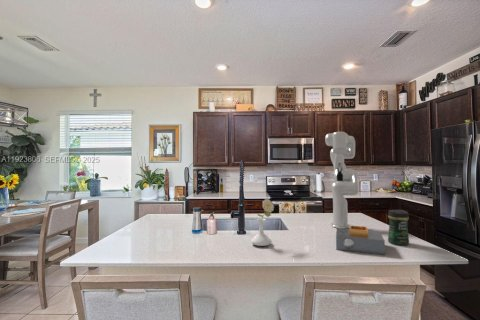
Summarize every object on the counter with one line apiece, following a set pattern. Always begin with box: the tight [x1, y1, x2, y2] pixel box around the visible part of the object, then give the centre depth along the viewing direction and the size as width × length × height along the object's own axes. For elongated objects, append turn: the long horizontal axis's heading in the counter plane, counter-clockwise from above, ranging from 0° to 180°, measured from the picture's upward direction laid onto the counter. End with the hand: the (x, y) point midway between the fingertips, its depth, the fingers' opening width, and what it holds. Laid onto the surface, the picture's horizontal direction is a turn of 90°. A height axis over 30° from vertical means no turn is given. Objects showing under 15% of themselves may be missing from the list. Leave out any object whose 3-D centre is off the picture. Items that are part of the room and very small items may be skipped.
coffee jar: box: [387, 209, 410, 246], centre depth 141 cm, size 10×8×19 cm
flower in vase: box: [250, 198, 275, 247], centre depth 141 cm, size 13×11×25 cm
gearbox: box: [335, 224, 386, 256], centre depth 136 cm, size 19×22×10 cm
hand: (339, 180), depth 155 cm, fingers open, 9 cm apart
